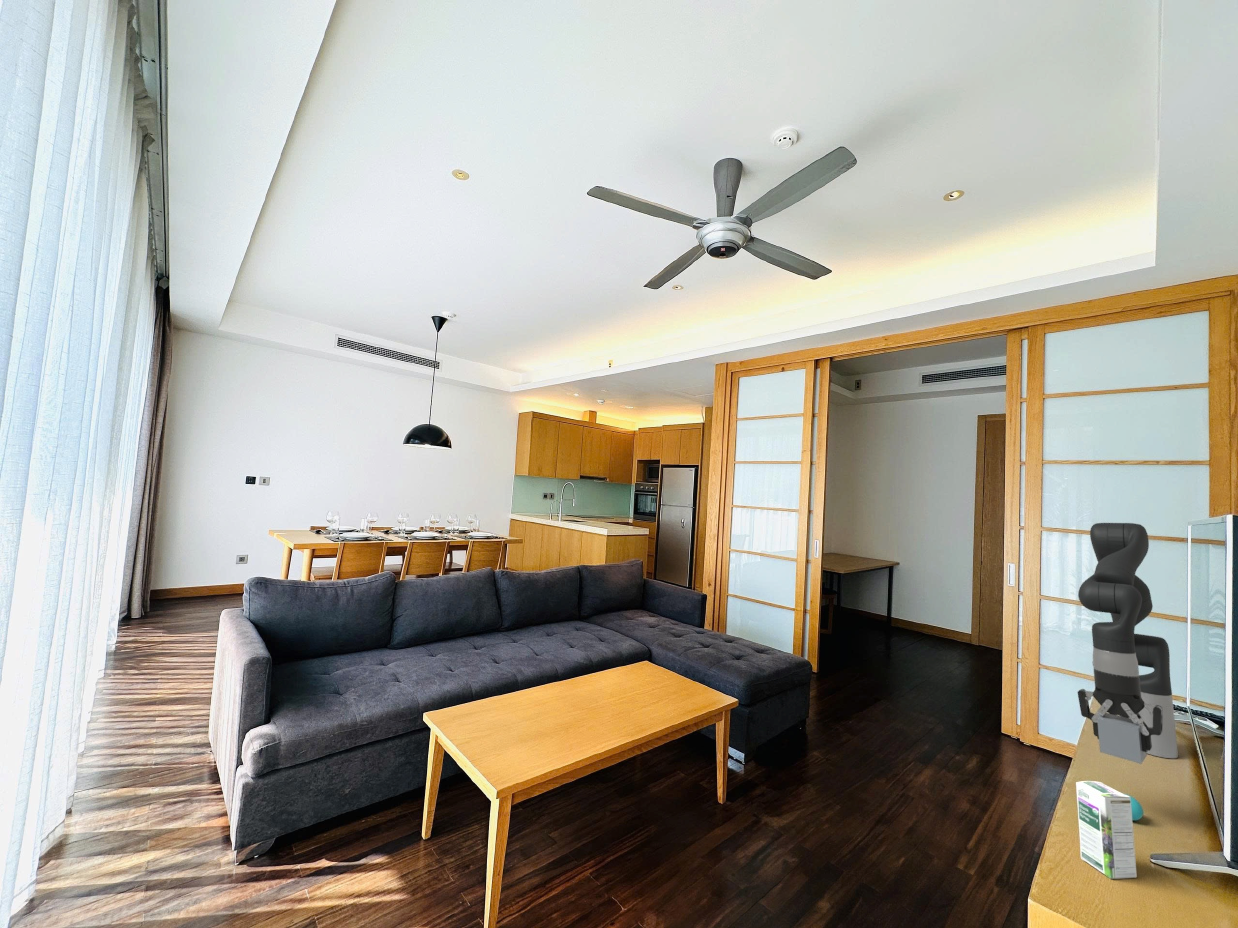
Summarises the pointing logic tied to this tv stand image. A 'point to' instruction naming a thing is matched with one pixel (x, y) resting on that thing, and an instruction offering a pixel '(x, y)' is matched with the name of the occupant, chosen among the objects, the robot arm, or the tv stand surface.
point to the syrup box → (1106, 829)
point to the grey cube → (1120, 738)
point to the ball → (1135, 809)
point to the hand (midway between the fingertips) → (1122, 744)
